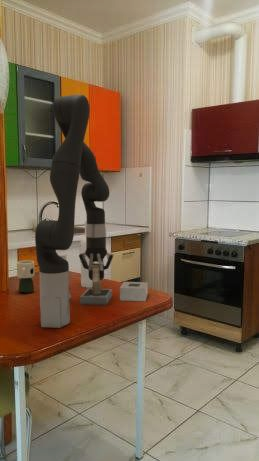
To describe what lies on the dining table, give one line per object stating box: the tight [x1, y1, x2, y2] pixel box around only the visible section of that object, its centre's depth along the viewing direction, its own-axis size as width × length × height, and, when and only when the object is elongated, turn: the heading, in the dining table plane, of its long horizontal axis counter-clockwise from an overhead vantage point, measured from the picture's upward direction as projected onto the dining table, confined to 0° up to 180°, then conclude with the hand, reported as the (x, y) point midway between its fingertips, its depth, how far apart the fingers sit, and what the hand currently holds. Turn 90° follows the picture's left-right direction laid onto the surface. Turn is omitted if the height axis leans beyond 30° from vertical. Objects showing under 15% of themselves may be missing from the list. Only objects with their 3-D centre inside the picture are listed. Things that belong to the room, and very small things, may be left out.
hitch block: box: [119, 281, 149, 302], centre depth 149 cm, size 10×10×5 cm
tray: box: [79, 288, 113, 306], centre depth 145 cm, size 12×10×3 cm
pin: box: [91, 262, 102, 296], centre depth 145 cm, size 4×4×12 cm
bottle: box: [79, 218, 99, 289], centre depth 167 cm, size 8×8×30 cm
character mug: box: [16, 260, 36, 294], centre depth 157 cm, size 11×7×13 cm, turn 5°
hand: (96, 279), depth 145 cm, fingers closed on pin, 3 cm apart
